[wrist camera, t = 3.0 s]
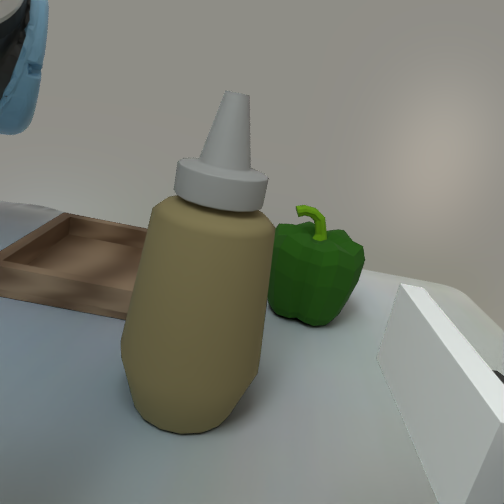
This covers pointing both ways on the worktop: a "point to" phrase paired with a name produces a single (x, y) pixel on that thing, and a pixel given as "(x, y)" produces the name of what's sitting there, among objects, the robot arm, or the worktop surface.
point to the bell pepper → (312, 269)
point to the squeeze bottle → (202, 285)
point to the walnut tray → (75, 265)
